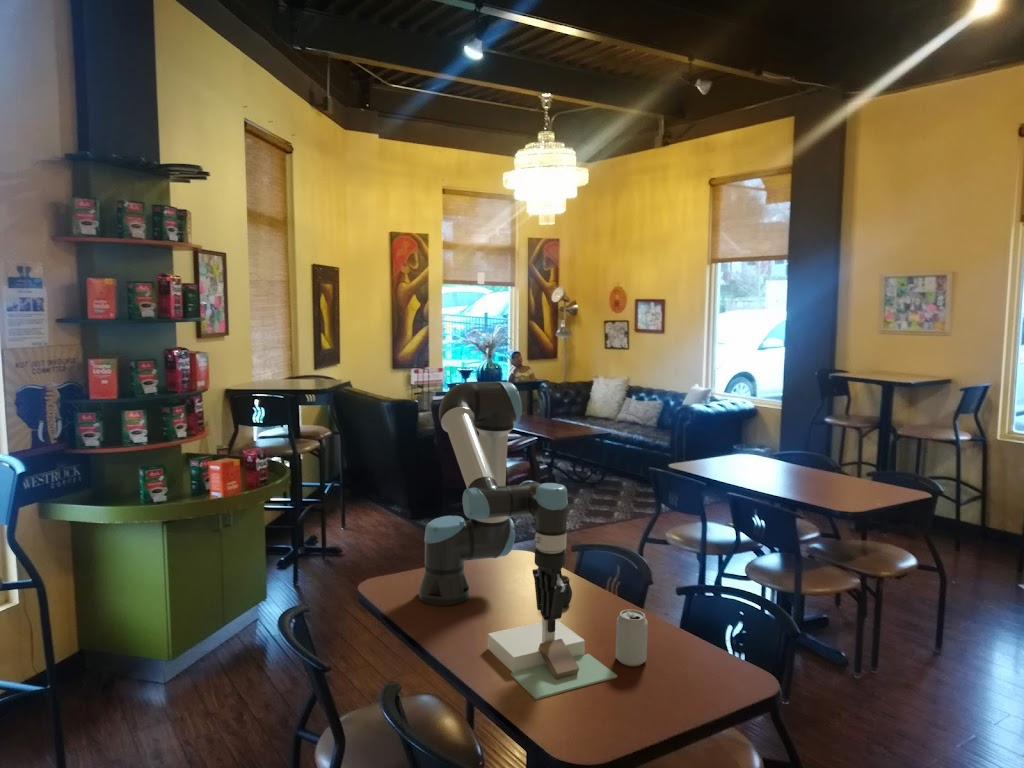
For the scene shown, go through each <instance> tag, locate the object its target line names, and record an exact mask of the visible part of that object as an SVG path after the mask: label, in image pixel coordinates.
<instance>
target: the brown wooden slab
mask: <svg viewBox="0 0 1024 768" xmlns="http://www.w3.org/2000/svg"><path fill="white" fill-rule="evenodd" d="M538 650H539V651H540V653H541V655H542V657H543V658H544V660H545V662H546V664H547V665H548V667H549V669H550V671H551V672H552V674H553V676H554V678H555V680H556V679H560V678H564V677H568V676H572V675H575V674H578V671H579V666H578V665H577V663H576V662H575V660H574V658H573V657H572V655H571V653H570V652H569V650H568V648H567V647H566V645H565V643H564V642H563V640H562V639H557V640H553V641H549V642H544V643H540V646H539V649H538Z"/></svg>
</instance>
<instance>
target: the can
mask: <svg viewBox="0 0 1024 768" xmlns="http://www.w3.org/2000/svg"><path fill="white" fill-rule="evenodd" d="M648 626H649V621H648V620H647V618H646V614H645V613H644V612H643V611H640V610H637V609H629V608H628V609H624V610H622V611H620V612H619V616H618V617H617V618H616V630H615V632H616V633H615V635H616V636H615V658H616V659H617V661H618V662H620V664H623V666H628V667H638V666H641V665H642V664H644V663H645V662H646V661H647V650H648V628H649V627H648Z"/></svg>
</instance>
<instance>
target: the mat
mask: <svg viewBox="0 0 1024 768" xmlns="http://www.w3.org/2000/svg"><path fill="white" fill-rule="evenodd" d="M573 658H574V660H575V662H576V663H577V665H578V666H579V671H578V674H575V675H572V676H568V677H564V678H560V679H556V680H555V678H554V676H553V674H552V672H551V671H550V669H549V667H548V665H547V664H545V665H541V666H537V667H533V668H529V669H525V670H521V671H517V672H510V676H511V678H512V679H514V680H515V681H516V682H517V683H518V684H519V685H520V686H522V687H523V688H524V690H525V691H527V692H528V694H530V696H532V697H533V698H534V699H535V701H536V700H540V699H544V698H547V697H548V698H549V697H551V696H554V695H558V694H562V693H566V692H569V691H572V690H576V689H579V688H583V687H587V686H592V685H594V684H595V685H596V684H597V683H598V684H599V683H602V682H605V681H610V680H613V679H616V678H618V675H617V674H616V673H615V672H613V671H612V670H611V669H610V668H608V667H607V666H605V665H604V664H603V663H602V662H600V661H599V660H597V659H596V657H594V656H592V655H591V654H590V653H587V654H585V655H581V656H577V657H573Z"/></svg>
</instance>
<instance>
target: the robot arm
mask: <svg viewBox="0 0 1024 768" xmlns="http://www.w3.org/2000/svg"><path fill="white" fill-rule="evenodd" d="M522 410H523V407H522V400H521V395H520V392H519V390H518V388H517V386H516V385H514V384H513V383H512V382H510V381H509V382H508V381H507V382H506V381H498V380H497V381H479V382H476V381H475V382H466V381H465V382H461V383H459V384H456V385H454V386H452V387H451V388H450V389H449V390H448V391H447V392H446V393H445V395H444V396H443V398H442V399H441V401H440V404H439V410H438V419H439V422H440V425H441V428H442V430H443V431H444V432H446V433H447V434H448V437H449V441H450V443H451V446H452V449H453V452H454V454H455V457H456V461H457V464H458V467H459V470H460V472H461V475H462V479H463V480H464V483H465V486H466V489H464V491H463V494H462V502H461V504H462V509H463V513H464V515H465V517H466V518H467V519H470V520H465V518H463V517H462V516H459V515H443V516H440V517H437V518H434V519H432V520H430V521H429V522H428V523H427V524H426V526H425V530H424V531H425V532H424V537H423V539H424V572H423V575H422V578H421V581H420V585H419V588H418V599H419V600H420V601H421V602H423V603H425V604H428V605H430V606H431V605H432V606H445V607H446V606H454V605H458V604H462V603H464V602H466V601H467V600H468V599H469V598H470V586H469V583H468V580H467V576H466V572H465V566H464V565H465V561H475V560H483V559H484V560H486V559H497V558H499V557H505V556H507V555H509V554H510V553H511V551H512V550H513V547H514V544H515V538H516V531H515V522H514V521H513V520H512V518H511V517H518V516H529V515H531V516H533V517H534V518H535V519H534V520H535V523H534V526H535V527H534V528H535V529H534V530H535V533H534V535H535V536H534V541H535V542H534V546H535V549H534V564H535V565H536V566H537V568H535V569H532V575H533V579H534V589H535V597H536V598H535V599H536V601H535V602H536V609H537V611H540V615H541V617H542V618H541V622H542V643H544V642H549V641H553V640H555V620H559V619H562V614H563V609H564V607H563V604H564V599H565V593H566V591H567V589H568V585H567V584H563V582H562V580H561V579H562V575H563V574H562V569H563V568H564V567H565V565H566V564H567V550H566V548H567V537H568V536H567V528H568V527H567V525H568V524H567V522H568V504H569V501H568V500H569V499H568V489H567V487H566V486H565V485H564V484H561V483H560V484H559V483H556V482H545V483H540V482H538V481H534V480H524V481H522V482H521V483H519V484H514V485H506V480H507V462H508V461H507V460H508V459H507V458H508V444H509V443H508V440H509V439H508V438H509V433H511V431H513V429H514V426H515V424H514V423H516V422H518V421H519V420H521V417H522V414H523V413H522V412H523V411H522Z"/></svg>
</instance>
